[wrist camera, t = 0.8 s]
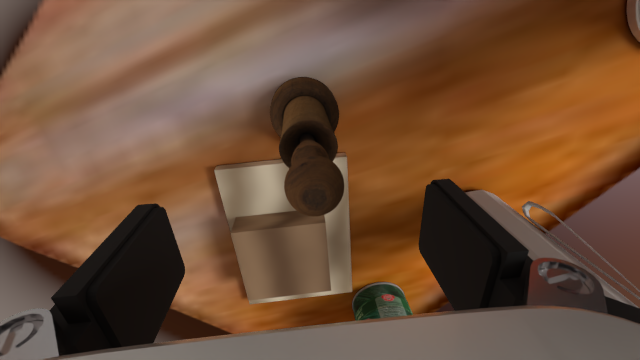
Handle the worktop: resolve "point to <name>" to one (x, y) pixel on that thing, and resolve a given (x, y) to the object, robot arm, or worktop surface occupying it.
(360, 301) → the canned tomato
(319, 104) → the brown wooden pepper mill
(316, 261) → the walnut base block
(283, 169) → the birch board
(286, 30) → the worktop surface
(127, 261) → the robot arm
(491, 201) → the water bottle
